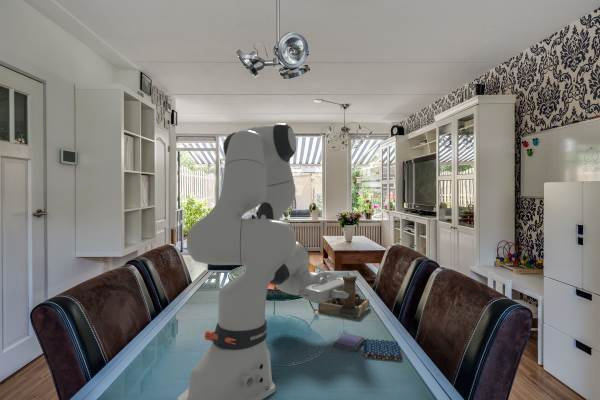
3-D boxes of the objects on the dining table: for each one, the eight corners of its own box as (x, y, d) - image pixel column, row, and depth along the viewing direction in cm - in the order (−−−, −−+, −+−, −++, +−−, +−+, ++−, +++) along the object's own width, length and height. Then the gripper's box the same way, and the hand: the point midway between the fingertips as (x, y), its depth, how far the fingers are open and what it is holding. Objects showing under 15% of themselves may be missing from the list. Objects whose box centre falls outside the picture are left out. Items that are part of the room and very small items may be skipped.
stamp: (353, 315, 100) (354, 279, 100) (339, 313, 102) (340, 277, 102) (358, 311, 104) (359, 276, 104) (345, 308, 106) (345, 274, 106)
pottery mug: (365, 309, 137) (366, 294, 133) (354, 325, 131) (354, 310, 127) (340, 296, 144) (340, 282, 140) (328, 311, 137) (327, 297, 133)
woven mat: (402, 363, 92) (403, 355, 92) (363, 359, 94) (363, 352, 94) (399, 346, 102) (399, 340, 102) (363, 343, 104) (363, 337, 104)
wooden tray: (357, 318, 125) (357, 309, 125) (318, 311, 132) (318, 302, 132) (369, 308, 137) (369, 299, 137) (332, 302, 145) (332, 293, 145)
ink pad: (355, 352, 97) (355, 347, 97) (332, 346, 101) (332, 342, 101) (365, 340, 105) (365, 336, 105) (343, 336, 109) (343, 332, 109)
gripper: (295, 282, 103) (333, 290, 95) (332, 271, 119) (367, 277, 111) (294, 303, 103) (333, 313, 95) (331, 289, 119) (367, 296, 111)
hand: (352, 293), depth 103 cm, fingers closed on stamp, 3 cm apart
